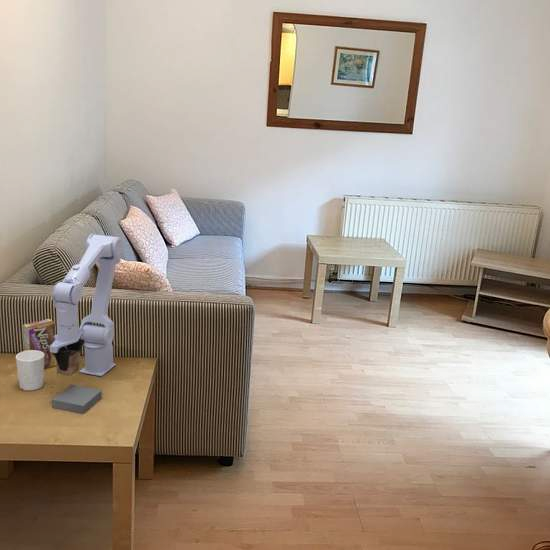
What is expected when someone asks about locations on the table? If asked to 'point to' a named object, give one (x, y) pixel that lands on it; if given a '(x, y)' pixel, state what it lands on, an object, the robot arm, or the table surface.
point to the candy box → (40, 339)
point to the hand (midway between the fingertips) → (68, 366)
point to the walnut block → (71, 364)
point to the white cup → (30, 369)
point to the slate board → (76, 399)
